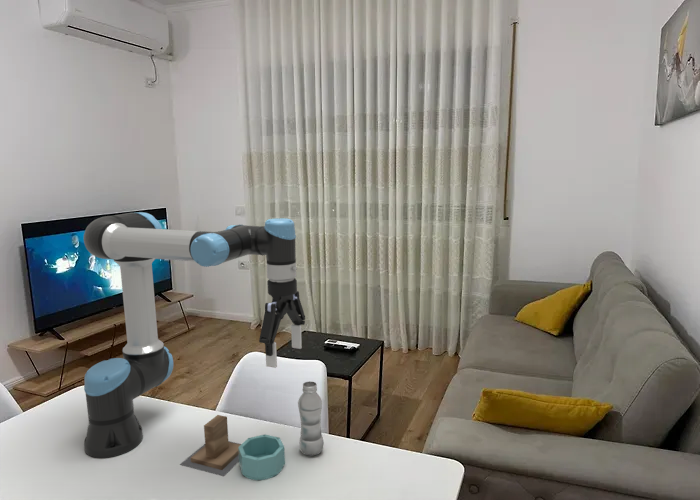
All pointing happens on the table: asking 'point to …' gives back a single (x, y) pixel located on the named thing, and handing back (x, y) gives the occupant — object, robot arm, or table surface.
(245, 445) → the bowl
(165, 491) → the table surface
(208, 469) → the mat
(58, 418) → the table surface
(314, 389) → the plastic bottle
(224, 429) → the cover lid
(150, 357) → the robot arm
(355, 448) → the table surface
